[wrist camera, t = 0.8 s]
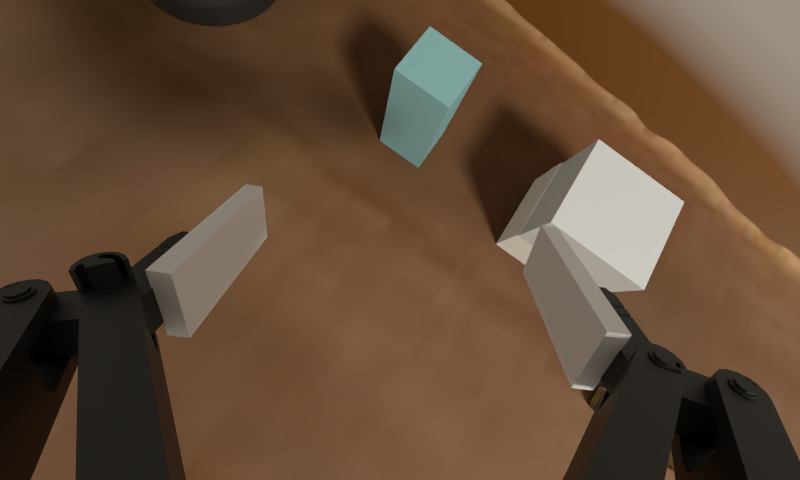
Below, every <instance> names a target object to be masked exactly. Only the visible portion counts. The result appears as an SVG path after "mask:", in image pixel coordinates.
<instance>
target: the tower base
mask: <svg viewBox="0 0 800 480" xmlns="http://www.w3.org/2000/svg"><path fill="white" fill-rule="evenodd" d="M561 164H562V163H560V164H558V165H557V166H555V167H554V168H552V169H551V170H549V171H548V172H546V173H545V174H543V175H542V176H540V177H539V178H537V179H536V180H535V181H534V182H533V184H532V185H531V187H530V189H529V190H528V192H527V194H526V195H525V197H524V199H523V200H522V202H521V204H520V205H519V207H518V209H517V210H516V212H515V213H514V215H513V217H512V218H511V220H510V222H509V223H508V225H507V227H506V228H505V230H504V232H503V233H502V235H501V236H500V238H499V240H498V241H497V243H496V244H497V245H498V246H499V247H501V248H502V249H504V250H505V251H506V252H508V253H509V254H511V255H512V256H513V257H515V258H516V259H518V260H519V261H520V262H522V263H523V264H525V265H526V262H527V260H528V257H529V255H530V252H531V250H532V247H533V246H532V245H530V244H529V243H528V242H526V241H525V240H524V239H522V238H521V237H519V234H520V232H521V231H522V229H523V227H524V226H525V224H526V222H527V221H528V219H529V217H530V216H531V214H532V212H533V211H534V209H535V207H536V206H537V204H538V202H539V201H540V199H541V197H542V196H543V194H544V192H545V191H546V189H547V187H548V186H549V184H550V182H551V181H552V179H553V177H554V176H555V174H556V172H557V171H558V169H559V167H560V166H561Z"/></svg>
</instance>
